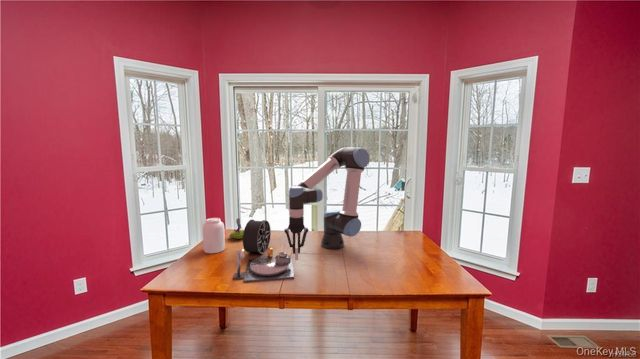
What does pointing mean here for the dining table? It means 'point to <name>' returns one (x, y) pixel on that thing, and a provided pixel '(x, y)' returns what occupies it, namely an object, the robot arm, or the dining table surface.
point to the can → (213, 236)
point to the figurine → (237, 231)
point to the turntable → (267, 265)
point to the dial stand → (239, 274)
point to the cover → (283, 259)
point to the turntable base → (253, 277)
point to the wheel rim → (256, 236)
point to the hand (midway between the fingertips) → (296, 259)
